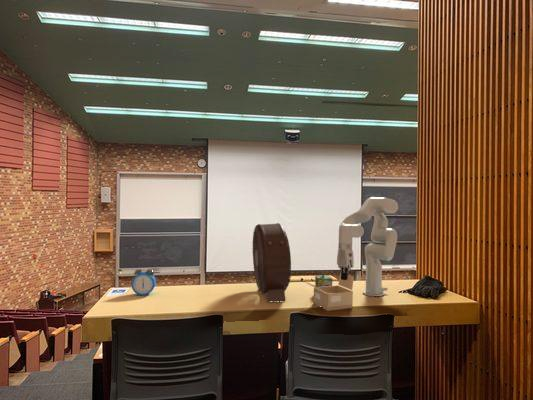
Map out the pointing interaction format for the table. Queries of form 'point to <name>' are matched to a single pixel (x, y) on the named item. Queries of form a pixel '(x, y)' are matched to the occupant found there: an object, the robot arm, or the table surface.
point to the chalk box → (323, 281)
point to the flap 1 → (316, 287)
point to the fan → (271, 260)
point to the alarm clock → (143, 282)
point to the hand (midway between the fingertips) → (344, 279)
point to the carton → (333, 298)
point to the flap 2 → (346, 282)
